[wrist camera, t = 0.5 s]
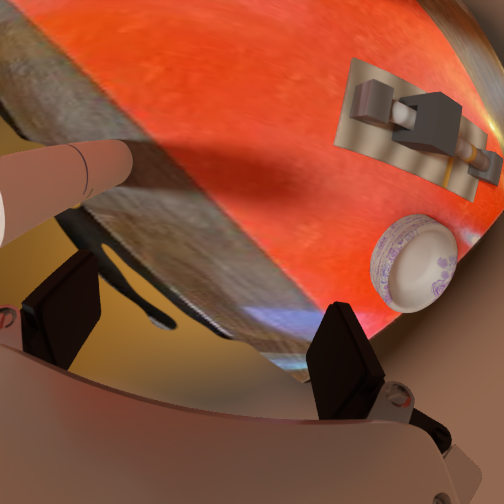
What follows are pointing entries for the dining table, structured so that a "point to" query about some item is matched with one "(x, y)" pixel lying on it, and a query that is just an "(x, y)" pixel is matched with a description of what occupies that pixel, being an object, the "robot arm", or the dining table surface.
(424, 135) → the collar
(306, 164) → the dining table surface
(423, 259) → the paper bowls
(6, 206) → the cylindrical container
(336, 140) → the pipe rig
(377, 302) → the dining table surface
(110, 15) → the dining table surface
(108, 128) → the dining table surface
